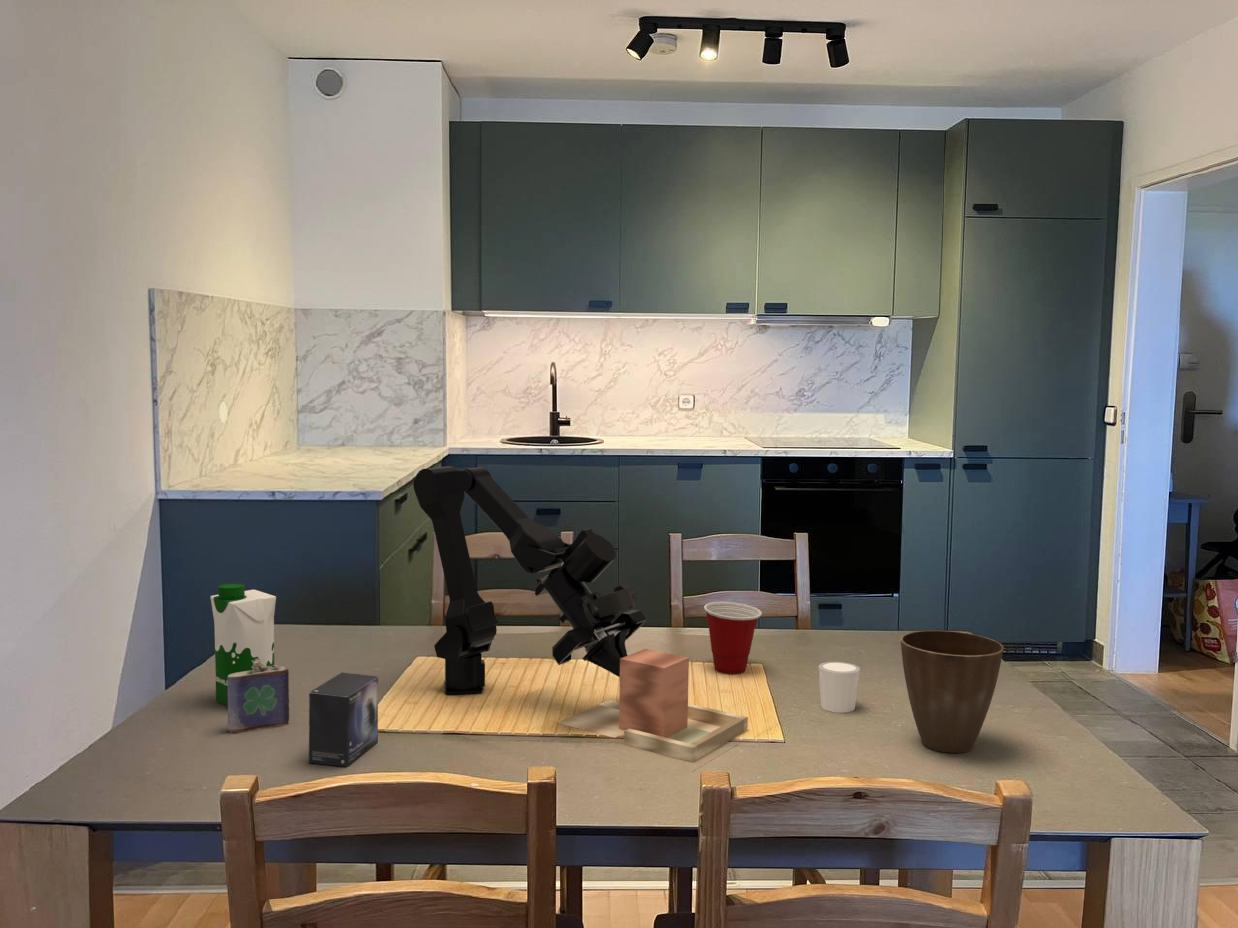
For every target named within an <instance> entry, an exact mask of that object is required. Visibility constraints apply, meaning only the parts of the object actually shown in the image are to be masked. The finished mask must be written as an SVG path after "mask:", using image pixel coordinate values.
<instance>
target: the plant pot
mask: <svg viewBox="0 0 1238 928" xmlns="http://www.w3.org/2000/svg"><path fill="white" fill-rule="evenodd" d="M900 646H901V647H900V650H901V657H902V667H903V672H904V680H905V684H906V690H907V696H908V699H909V704H910V707H911V712H912V714H913V719H914V721H915V722H914V723H915V726H916V728H917V732H918V735H919V738H920V740H921V743H922V745H923V746H925V747H926V748H928V749H931V750H933V751H938V752H943V753H948V754H950V753H951V754H957V753H958V754H960V753H966V752H970V750H972V749H973V747H974V745H975V743H976V741H977V739H978V736H979V734H980V732H981V730H982V727H983V725H984V722H985V720H986V717H987V714H988V711H989V709H990V705H991V703H992V699H993V696H994V693H995V689H996V685H997V683H998V682H997V681H998V678H999V673H1000V669H1001V665H1002V664H1001V663H1002V659H1003V654H1004V653H1003V652H1004V649H1005V647H1004V645H1002V643H1000V642H998V641H996V640H994V639H992V638H988V637H985V636H981V635H977V634H975V633H973V634H972V633H969V632H968V633H967V632H960V631H952V630H951V631H950V630H919V631H912V632H908V633H905V634H903V635H902V636H901V637H900Z"/></svg>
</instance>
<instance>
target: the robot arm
mask: <svg viewBox="0 0 1238 928" xmlns="http://www.w3.org/2000/svg"><path fill="white" fill-rule="evenodd" d="M412 483H413V485H412V486H413V490H414V494H415V496H416V498H417V499H416V500H417V502H418V505H419V507H420V508H421V509H422V510H423V512H424V513H425V514H426V515H427V516H428V518H429V519H430V520H431V522H432V525H433V526H432V527H433V531H434V535H435V539H436V543H437V548H438V549H437V550H438V552H439V553H438V554H439V557H440V563H441V566H442V570H443V571H442V572H443V575H444V581H445V585H446V589H447V593H448V598H449V603H448V607H447V611H446V615H445V616H444V617H445V618H444V619H445V621H444V623H445V630H446V631H445V633H444V634H443V635H442V637H440V638H439V639H438V641H436V643H435V644H434V646H433V647H434V651H435V654H436V655H435V656H436V658H438V659H443V660H444V681H443V686H444V687H443V688H444V695H458V694H459V695H460V694H461V695H463V694H481V693H483V692H484V691H483V690H484V687H485V686H486V662H485V660H484V659H482V658H483V656H482V655H483V654H482V653H484V652H489V651H490V649H491V647H492V642H493V641H494V639H495V636H496V635H497V625H498V624H499V621H498V620H497V618H496V613H495V608H494V607H495V606H494V603H493V602H492V601H485V600H484V599H483V598H482V597H481V596H480V595H479V592H478V588H477V583H476V578H475V575H474V569H473V566H472V562H471V557H470V553H469V548H468V547H469V546H468V543H467V539H466V534H465V531H464V527H463V522H462V518H461V512H462V508H463V504H464V501H465V498H466V497H465V493H466V495H468V497H470V499H472V501H473V502H474V503H475V505H477V506H478V508H480V509H481V511H483V513H484V514H485V515H486V516H487V517H488V519H489V520H491V521H492V523H493V524H494V525H495V526H496V527H497V528H498V529H499V530H500V531H501V532H502V533H503V535H504V536H505V537H506V539H507V540H508V542H509V546H510V547H509V548H510V552H511V555H513V557H514V559H515V560H516V561H517V563H518V565H519V567H521V569H522V570H523V571H524V572H526V573H528V574H536V573H541V572H545V571H549V572H548V574H546V576H542V577H537V579H536V585H535V589H534V590H535V591H534V595H535V596H536V597H537V596H541V595H546V594H548V595H549V596H550V598H551V599H552V601H553V603H554V604H555V605H556V607H557V608H558V609H559V611H560V612H561V614H562V615H560V617H559V618H558V619H559V621H560V622H561V624H566V623H568V624H569V625H570V627H571V628H572V629H569V630H567V631H566V633H565V634H564V635H563V636H562V637H561V638H560V639H558V641H557V642H555V644H554V645H553V646H552V648H551V656H552V658H553V659H554V661H555V662H556V664H557V665H558V666H561V665H564V664H566V663H569V662H571V660H572V653H573V652H574V651H577V650H579V649H582V648H584V651H585V653H586V654H585V655H584V656H583V657H582V660H583V662H586V661H587V662H590V663H591V664H594V665H595V666H598V667H599V668H602V669H604V670H605V671H608V672H609V673H611V674H613V675H615V676H616V677H618V678H620V659H621V658H623V657H626V656H628V652H627V647H626V641H627V640H628V639H629V638H630V637H632V636H633V634H635V632H636V631H637V630H639V629H640V628H641V627H642V626H643V625H644V624H645V623H646V621H647V618H646V616H645V615H644V614H643V613H642V611H641V610H639V609H634V608H635V607H636V605H635V601H636V599H637V593H636V591H635V590H634V589H633V588H632V586H630V585H629V583H627V582H626V583H623V584H620V585H618V586H615V587H614V588H613V592H611V593H608V594H606V595H602V594H601V593H600V592H598V591H596V592H592V591H591V590H590V589H589V587H588V586H587V585H586V583H589V584H590V583H593V582H594V581H596V580H597V579H598V577H600V575H601V574H602V573H603V572H604V571H605V570H606V569H607V568H608V567H609V566H610V565H611V564H612V562H614V560H616V556H617V553H616V549H615V547H614V546H613V544H612V542H610V541H609V540H607V539H606V538H605V537H603V536H601V535H600V534H597V533H594V531H593V529H592V528H586V529H582V530H581V531H580V532H579V533H578V534H577V536H576V538H575V540H574V541H572V543H569V542H565V541H564V540H563V539H562V538H561V536H559V535H557V534H556V533H555V532H554V531H552V529H550V528H548V527H547V526H545V525H543V524H540V523H538V522H535V521H534V520H532V519H531V518H530V517H528V515H527V514H526V513H525V512H524V511H523V510H522V509H521V508H520V506H518V505H517V503H516V502H515V501H514V500H513V499H512V498H511V497H510V496H509V495H508V494H507V492H505V490H504V489H502V487H501V486H500V485H499V484H498V483H497V481H495V480H494V479H493V478H492V475H491V473H490V471H489V470H488V469H486V468H485V467H482V466H481V467H473V468H470V467H469V468H464V469H462V470H459V469H457V468H456V467H454V466H451V465H448V466H447V465H446V466H437V467H428V468H421V469H420V470H419V471H418V472H417V473H416V476H415V477H414V479H413V482H412ZM627 609H629V611H625V610H627ZM623 611H624V612H623ZM620 612H621V614H620V615H619V614H618V613H620ZM612 621H613V622H612Z"/></svg>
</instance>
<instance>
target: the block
mask: <svg viewBox="0 0 1238 928" xmlns="http://www.w3.org/2000/svg"><path fill="white" fill-rule="evenodd" d="M627 655H628V654H627ZM689 669H690V657H687V656H682V655H677V654H672V653H669V652H668V653H667V652H663V651H658V650H657V651H656V650H652V649H648V648H644V649H642V650H639V651H636V652H634V653H631V654H629V655H628V656H626V657H623V658H621V659H620V677H619V691H618V692H619V697H618V698H619V700H618V702H619V729H621V730H627V729H629V728H630V729H634V730H638V731H642V732H645V733H649V734H653V735H657V736H661V737H665V738H668V737H670V736H672V735H674V734H676V733H678V732H679V731H681V730H683V729H685V728H687V724H688V703H689V677H690V676H689V673H690V671H689Z"/></svg>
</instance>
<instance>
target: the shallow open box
mask: <svg viewBox="0 0 1238 928" xmlns="http://www.w3.org/2000/svg"><path fill="white" fill-rule="evenodd" d="M748 723H749V717H748V716H744V715H740V714H737V713H732V712H727V711H723V710H719V709H715V708H710V707H705V706H703V705H702V706H701V705H696V704H693V703H689V702H688V724H687V728H685V729H683V730H681V731H679V732H678V733H676V734H674V735H672V736H670V737H668V738H665V737H661V736H657V735H653V734H649V733H645V732H642V731H638V730H634V729H630V728H629V729H627V730H621V729H619V701H615V700H613V699H607V700H605V701H604V702H601V703H598V704H596V705H594V706H592V707H590V708H588V709H584V710H582V711H581V712H578V713H576V714H574V715H572V716H569V717H567V718H564V719H563V720H560V721H557V723H556V724H561V725H564V726H567V727H571V728H575V729H579V730H583V731H586V732H587V731H588V732H590V733H593V734H599V735H601V736H606V737H609V738H613V739H616V738H619V737H620V736H622V735H623V736H624V737H623V739H624V740H623V745H627V746H630V747H634V748H638V749H641V750H646V751H650V752H653V753H657V754H660V755H664V756H668V757H672V758H675V759H679V760H683V761H687V762H690V763H693V762H695V761H697V760H698V759H701V758H702V757H704V756H706V755H707V754H709V753H710V752H713V751H714V750H715V749H718V748H719V747H721V746H722V745H724V744H726V743H727V742H729V741H731V740H733V739H735V738H736V737H738V736H739V735H742V734H743V733H745V732H747V731H748V730H749V729H748V728H749V727H748V726H749V725H748ZM736 746H738V744H736V745H735V747H736ZM732 749H733V747H731V748H730V750H732ZM727 752H728V750H727V751H725V753H727ZM721 755H723V753H722V754H720V756H721ZM717 758H718V756H716V757H715V759H717ZM712 761H713V759H711V760H710V761H709V760H708V762H707V763H704V764H703V765H701V766H699V768H701V767H703V766H705V765H706V764H708V763H709V762H712ZM699 768H698V769H699ZM695 771H696V769H694V770H693V772H695Z"/></svg>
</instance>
